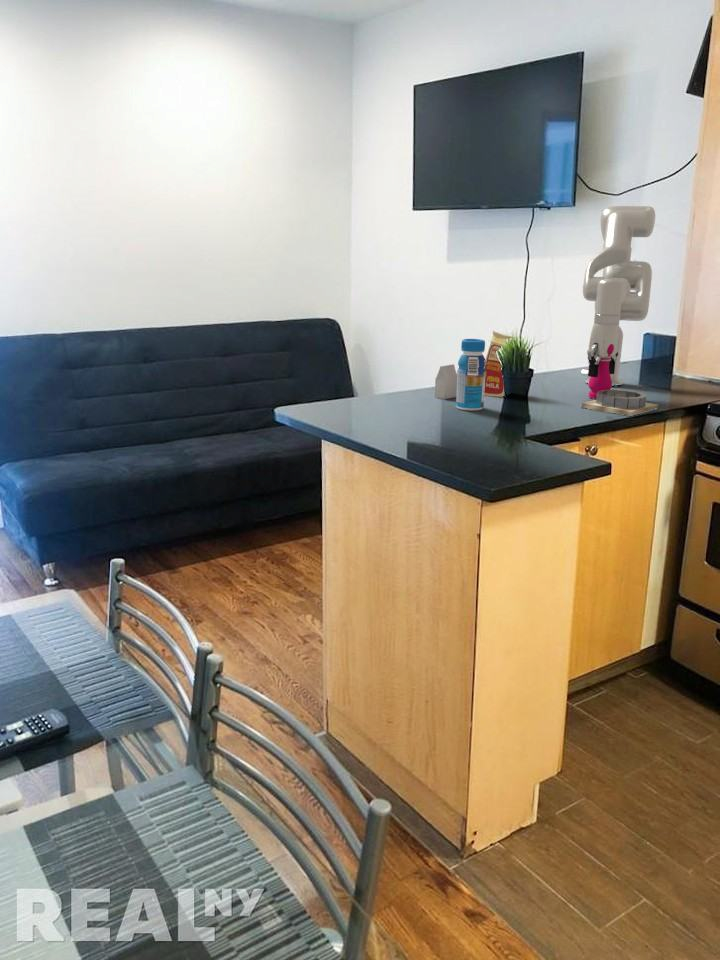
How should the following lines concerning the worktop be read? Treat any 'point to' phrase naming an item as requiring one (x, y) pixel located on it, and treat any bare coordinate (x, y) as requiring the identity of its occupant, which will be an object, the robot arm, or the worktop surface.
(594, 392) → the pepper mill
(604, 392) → the steel ring collar
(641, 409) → the birch board
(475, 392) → the beverage bottle
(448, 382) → the tea bag
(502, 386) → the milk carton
